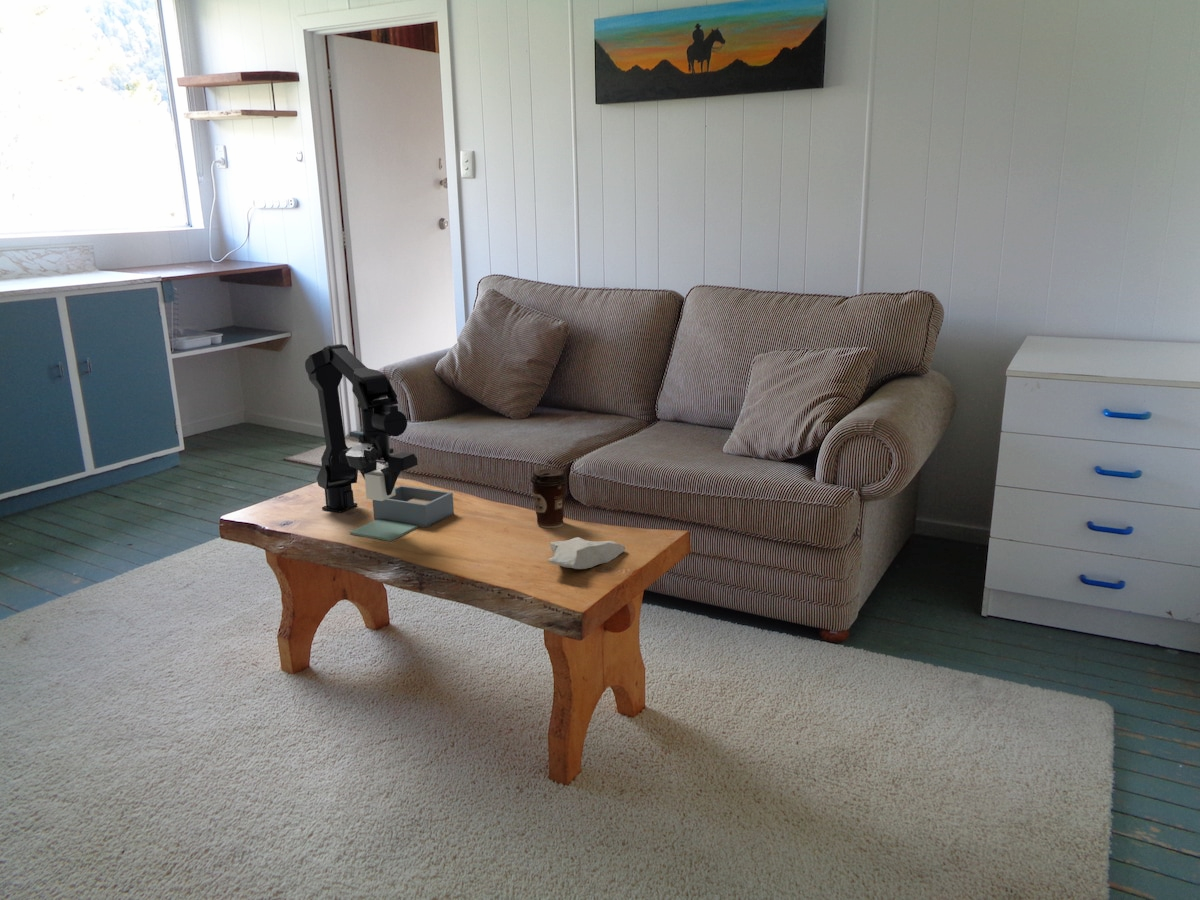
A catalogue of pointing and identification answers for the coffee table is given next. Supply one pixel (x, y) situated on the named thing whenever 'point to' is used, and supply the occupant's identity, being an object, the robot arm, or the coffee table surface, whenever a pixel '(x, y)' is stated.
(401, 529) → the board
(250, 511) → the coffee table surface
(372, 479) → the block
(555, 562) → the rock
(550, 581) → the coffee table surface
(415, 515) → the slot box
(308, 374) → the robot arm
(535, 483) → the coffee cup
